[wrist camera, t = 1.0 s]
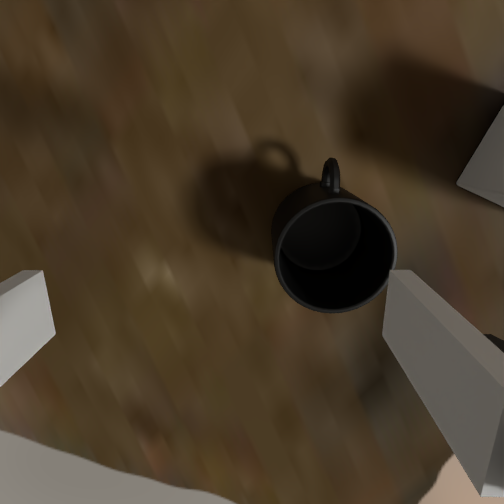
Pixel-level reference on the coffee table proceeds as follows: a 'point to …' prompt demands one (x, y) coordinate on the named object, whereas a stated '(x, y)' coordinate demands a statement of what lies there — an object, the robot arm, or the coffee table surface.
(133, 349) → the coffee table surface
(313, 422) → the coffee table surface
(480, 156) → the soap bottle
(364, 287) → the mug
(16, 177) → the coffee table surface
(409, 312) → the robot arm
